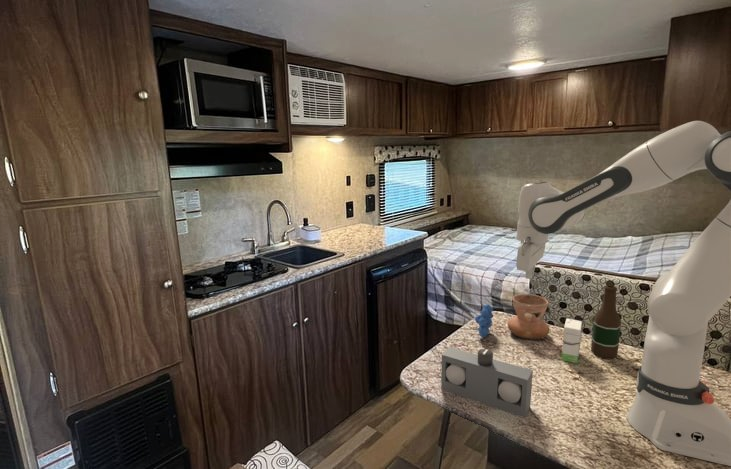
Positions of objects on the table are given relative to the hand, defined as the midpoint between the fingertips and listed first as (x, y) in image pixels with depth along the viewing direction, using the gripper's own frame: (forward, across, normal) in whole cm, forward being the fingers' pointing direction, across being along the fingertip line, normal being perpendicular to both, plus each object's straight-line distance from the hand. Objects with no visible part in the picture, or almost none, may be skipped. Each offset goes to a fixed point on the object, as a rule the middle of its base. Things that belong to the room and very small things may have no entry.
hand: (529, 277), depth 123 cm
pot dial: (+18, -26, +4) cm, 32 cm away
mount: (+29, -26, +4) cm, 39 cm away
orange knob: (+27, -25, +12) cm, 39 cm away
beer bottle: (+29, +20, -21) cm, 41 cm away
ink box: (+29, +12, -12) cm, 34 cm away
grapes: (+29, +12, +18) cm, 36 cm away
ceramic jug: (+29, +22, +4) cm, 37 cm away
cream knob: (+27, -25, -3) cm, 37 cm away
